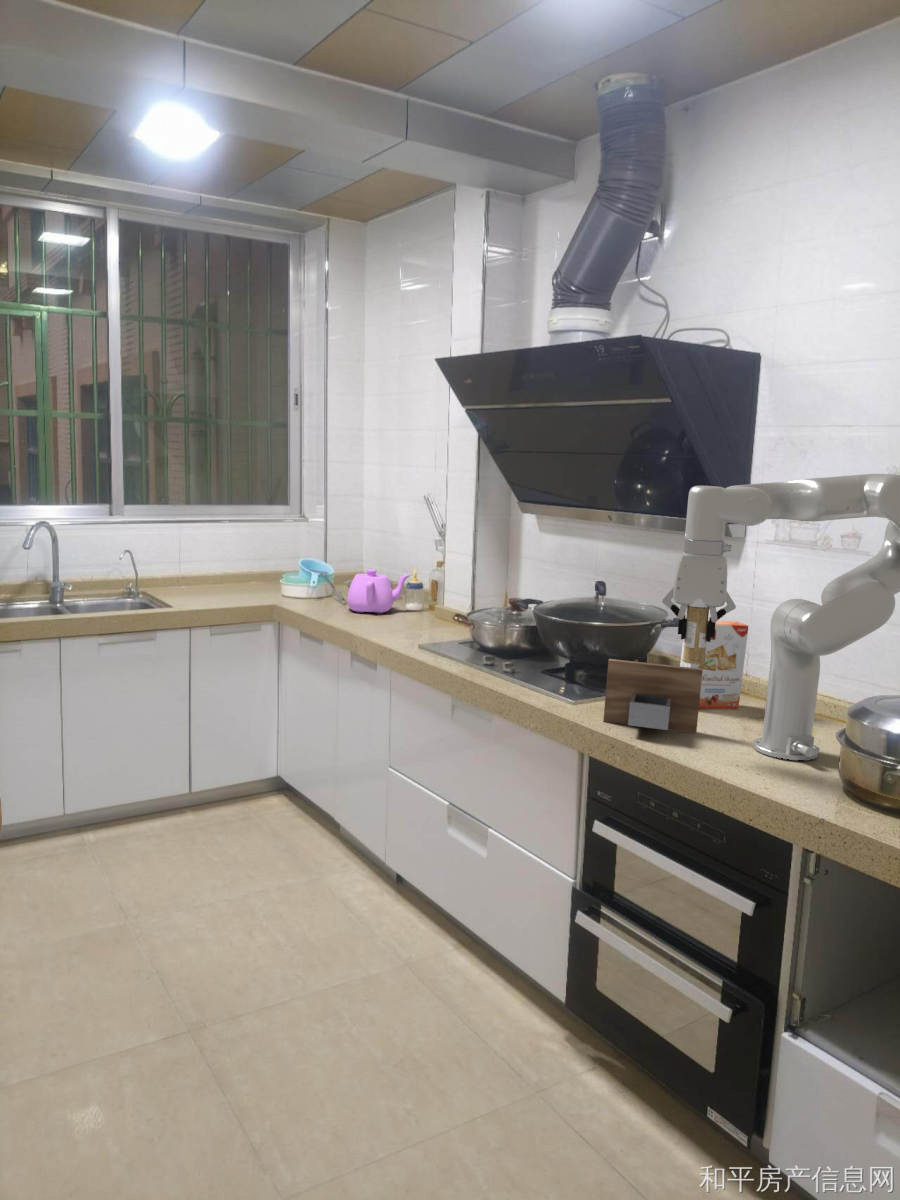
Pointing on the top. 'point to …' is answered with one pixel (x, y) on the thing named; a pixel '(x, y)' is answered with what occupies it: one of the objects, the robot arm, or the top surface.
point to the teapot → (373, 592)
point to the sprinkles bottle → (696, 633)
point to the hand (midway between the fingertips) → (695, 638)
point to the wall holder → (652, 695)
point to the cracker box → (722, 666)
